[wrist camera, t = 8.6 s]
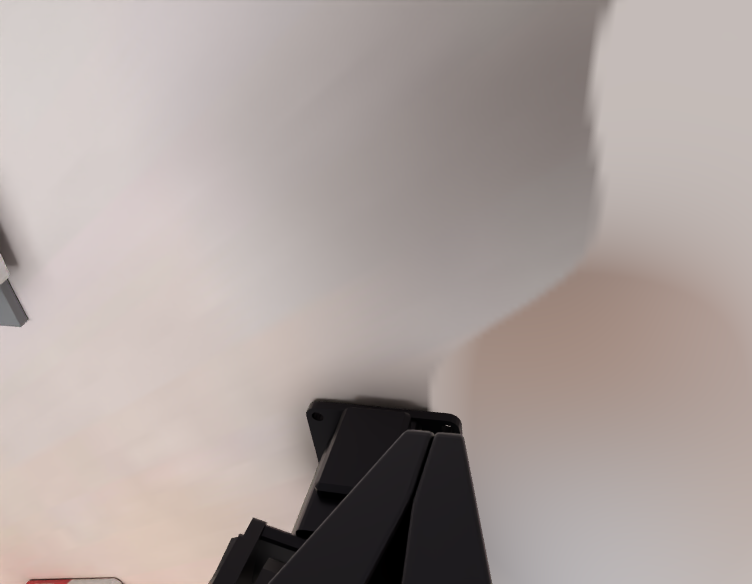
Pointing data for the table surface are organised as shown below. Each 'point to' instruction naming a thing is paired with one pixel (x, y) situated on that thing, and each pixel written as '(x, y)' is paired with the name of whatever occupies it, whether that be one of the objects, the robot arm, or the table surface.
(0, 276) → the syrup box
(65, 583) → the ink box
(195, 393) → the table surface
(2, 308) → the mat
